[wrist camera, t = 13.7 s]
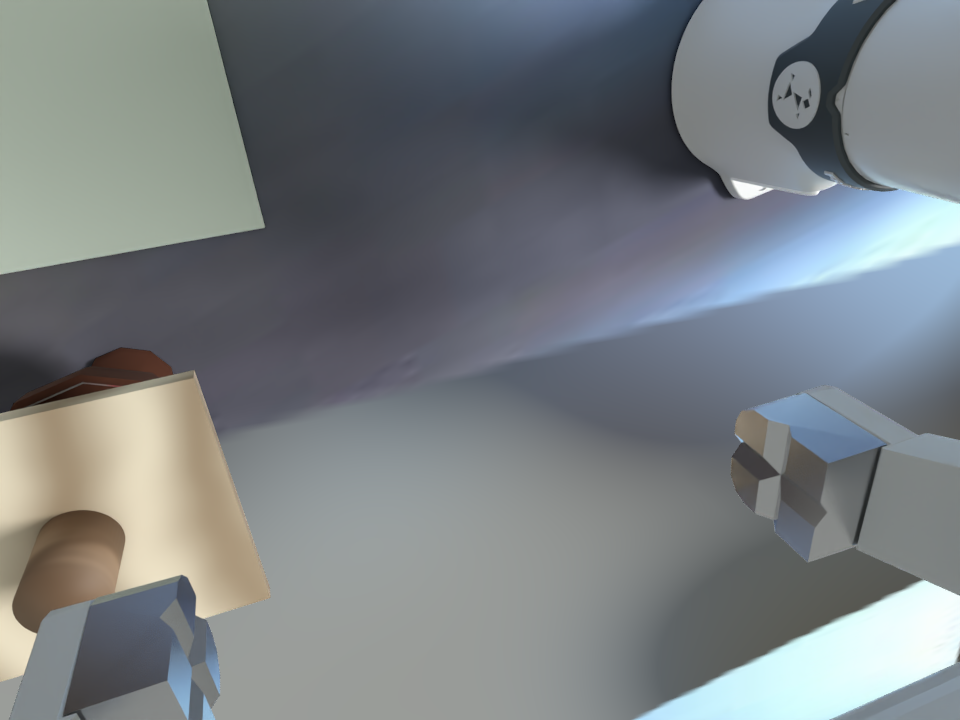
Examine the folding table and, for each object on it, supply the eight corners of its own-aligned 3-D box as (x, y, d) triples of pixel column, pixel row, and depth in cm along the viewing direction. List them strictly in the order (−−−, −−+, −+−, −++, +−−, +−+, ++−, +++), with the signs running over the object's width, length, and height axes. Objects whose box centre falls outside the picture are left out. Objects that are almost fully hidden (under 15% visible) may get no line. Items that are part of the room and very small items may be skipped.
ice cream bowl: (68, 467, 45) (3, 639, 32) (13, 319, 40) (-89, 454, 27) (229, 438, 48) (228, 585, 35) (198, 297, 43) (183, 410, 30)
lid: (194, 370, 30) (188, 424, 26) (269, 587, 36) (274, 657, 32) (-170, 451, 26) (-244, 528, 22) (-13, 674, 33) (-47, 764, 29)
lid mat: (178, -112, 34) (177, -113, 33) (264, 225, 42) (265, 227, 42) (-243, -90, 29) (-248, -91, 29) (-51, 281, 38) (-53, 283, 38)
